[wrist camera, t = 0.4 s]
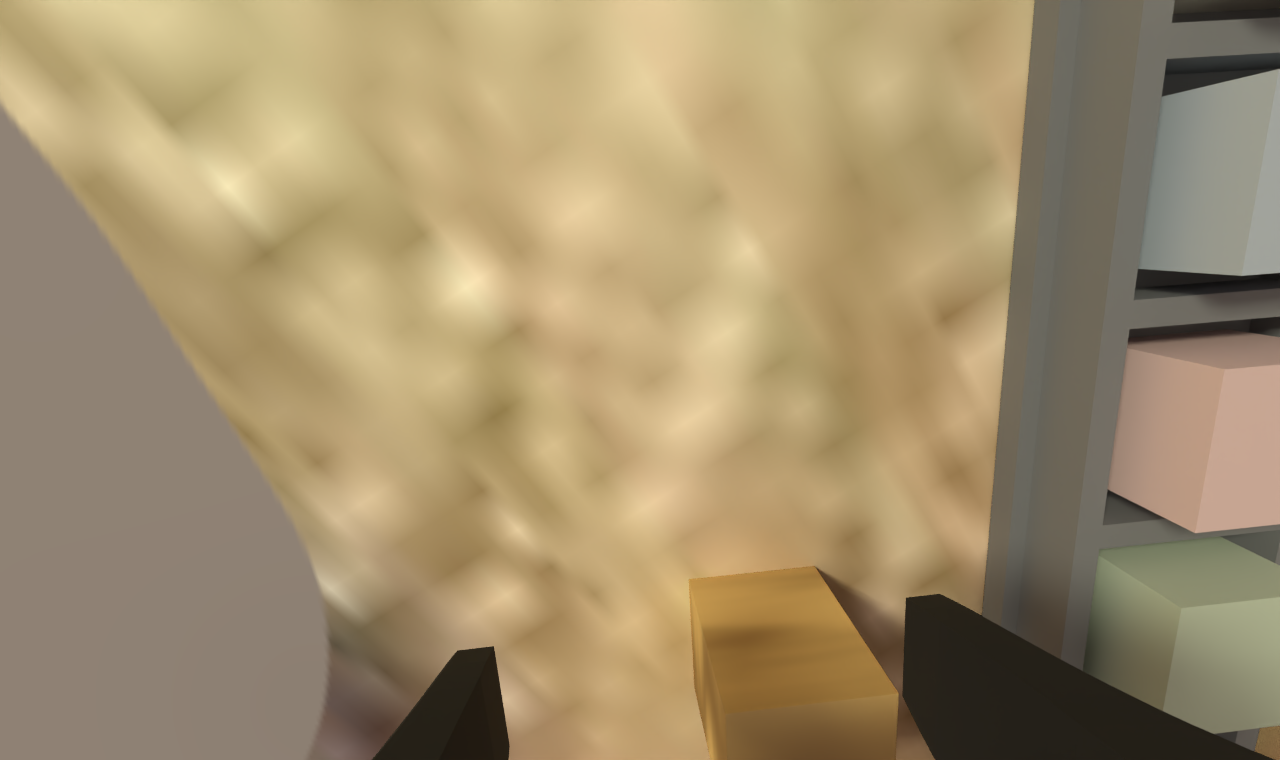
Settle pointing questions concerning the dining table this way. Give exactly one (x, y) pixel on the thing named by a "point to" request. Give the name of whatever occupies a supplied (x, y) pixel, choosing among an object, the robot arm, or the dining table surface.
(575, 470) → the dining table surface
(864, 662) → the ochre block
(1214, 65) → the five-cell board
